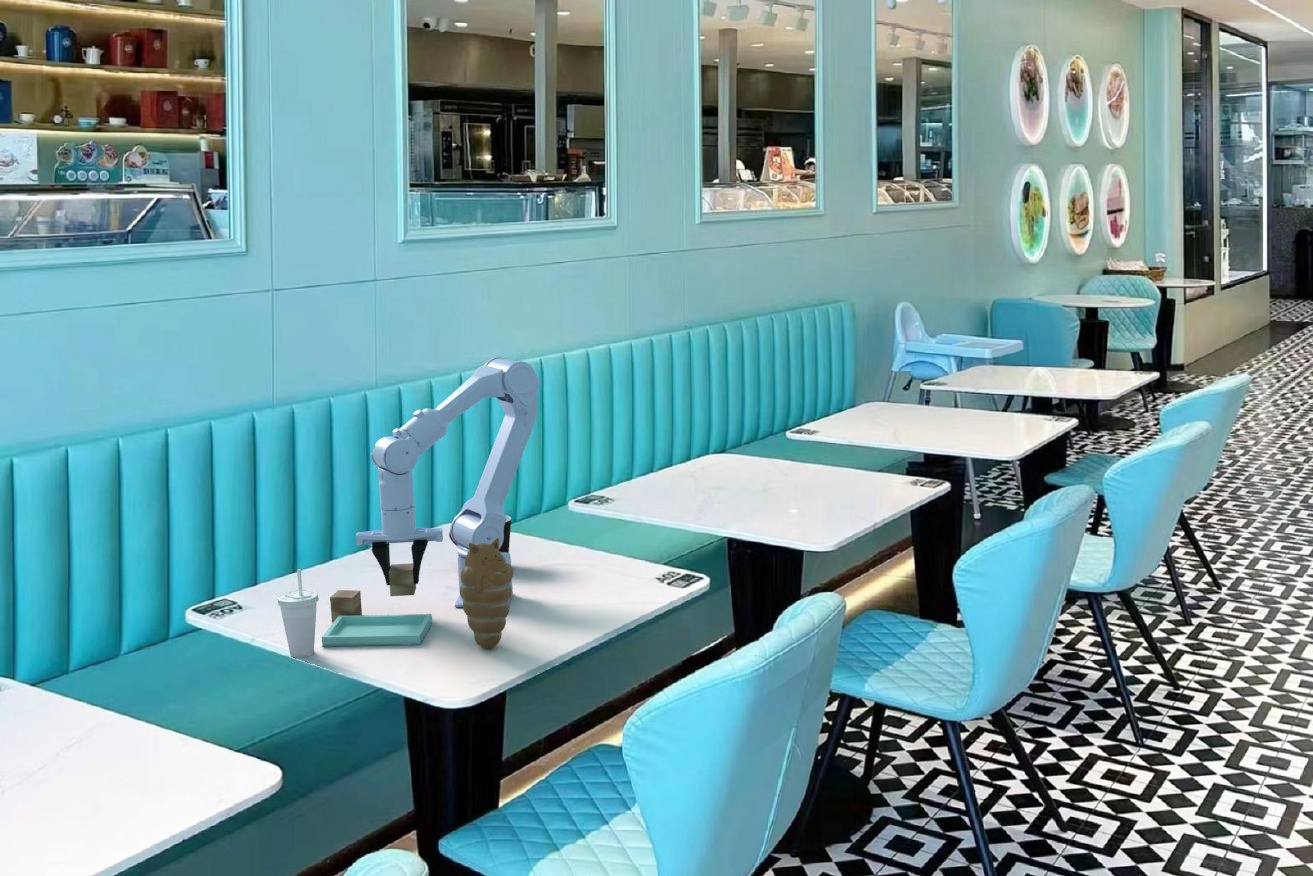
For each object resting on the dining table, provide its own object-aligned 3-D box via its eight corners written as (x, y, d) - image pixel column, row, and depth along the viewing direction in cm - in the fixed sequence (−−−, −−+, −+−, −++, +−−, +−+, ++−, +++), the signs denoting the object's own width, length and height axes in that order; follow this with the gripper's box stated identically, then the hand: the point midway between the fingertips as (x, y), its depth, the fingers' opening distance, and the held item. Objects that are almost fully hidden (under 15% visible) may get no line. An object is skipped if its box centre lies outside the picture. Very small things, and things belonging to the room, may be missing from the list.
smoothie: (311, 661, 208) (305, 576, 205) (274, 659, 209) (267, 574, 207) (329, 647, 214) (323, 564, 212) (292, 645, 215) (286, 563, 213)
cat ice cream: (476, 660, 207) (470, 550, 203) (452, 647, 213) (447, 539, 209) (524, 648, 212) (520, 540, 208) (500, 635, 218) (495, 530, 215)
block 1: (361, 615, 231) (360, 590, 230) (354, 622, 227) (352, 597, 226) (339, 614, 231) (338, 590, 230) (331, 622, 227) (330, 597, 226)
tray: (432, 623, 225) (431, 614, 225) (420, 645, 214) (419, 635, 214) (339, 624, 225) (338, 615, 225) (322, 646, 215) (321, 637, 214)
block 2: (416, 588, 230) (414, 563, 229) (413, 595, 226) (412, 570, 225) (393, 589, 230) (391, 564, 229) (390, 596, 226) (388, 571, 225)
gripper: (442, 499, 230) (446, 574, 232) (357, 503, 228) (363, 578, 231) (438, 509, 223) (443, 586, 225) (352, 513, 222) (357, 590, 224)
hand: (402, 583), depth 228 cm, fingers closed on block 2, 4 cm apart
